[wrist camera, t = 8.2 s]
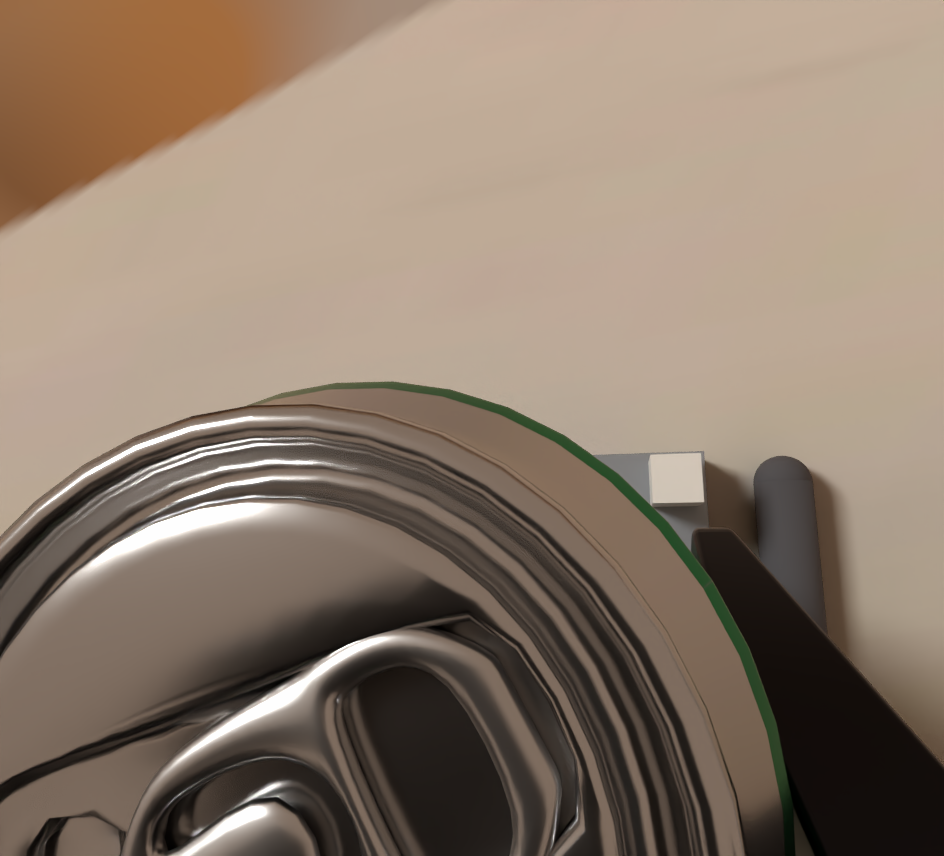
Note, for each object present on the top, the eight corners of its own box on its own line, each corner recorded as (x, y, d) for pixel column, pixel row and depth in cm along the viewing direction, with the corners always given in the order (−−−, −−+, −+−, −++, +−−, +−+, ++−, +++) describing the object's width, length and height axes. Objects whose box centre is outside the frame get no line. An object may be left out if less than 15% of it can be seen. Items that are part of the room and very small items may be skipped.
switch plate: (720, 778, 15) (736, 816, 13) (410, 759, 16) (378, 790, 14) (699, 457, 16) (710, 442, 14) (413, 467, 17) (384, 455, 15)
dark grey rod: (833, 796, 14) (852, 817, 13) (773, 792, 15) (785, 812, 14) (802, 458, 16) (816, 451, 15) (747, 460, 16) (756, 453, 15)
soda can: (391, 576, 15) (-298, 634, 4) (583, 461, 15) (450, 139, 3) (501, 794, 14) (-53, 1874, 3) (716, 675, 14) (1236, 1326, 2)
